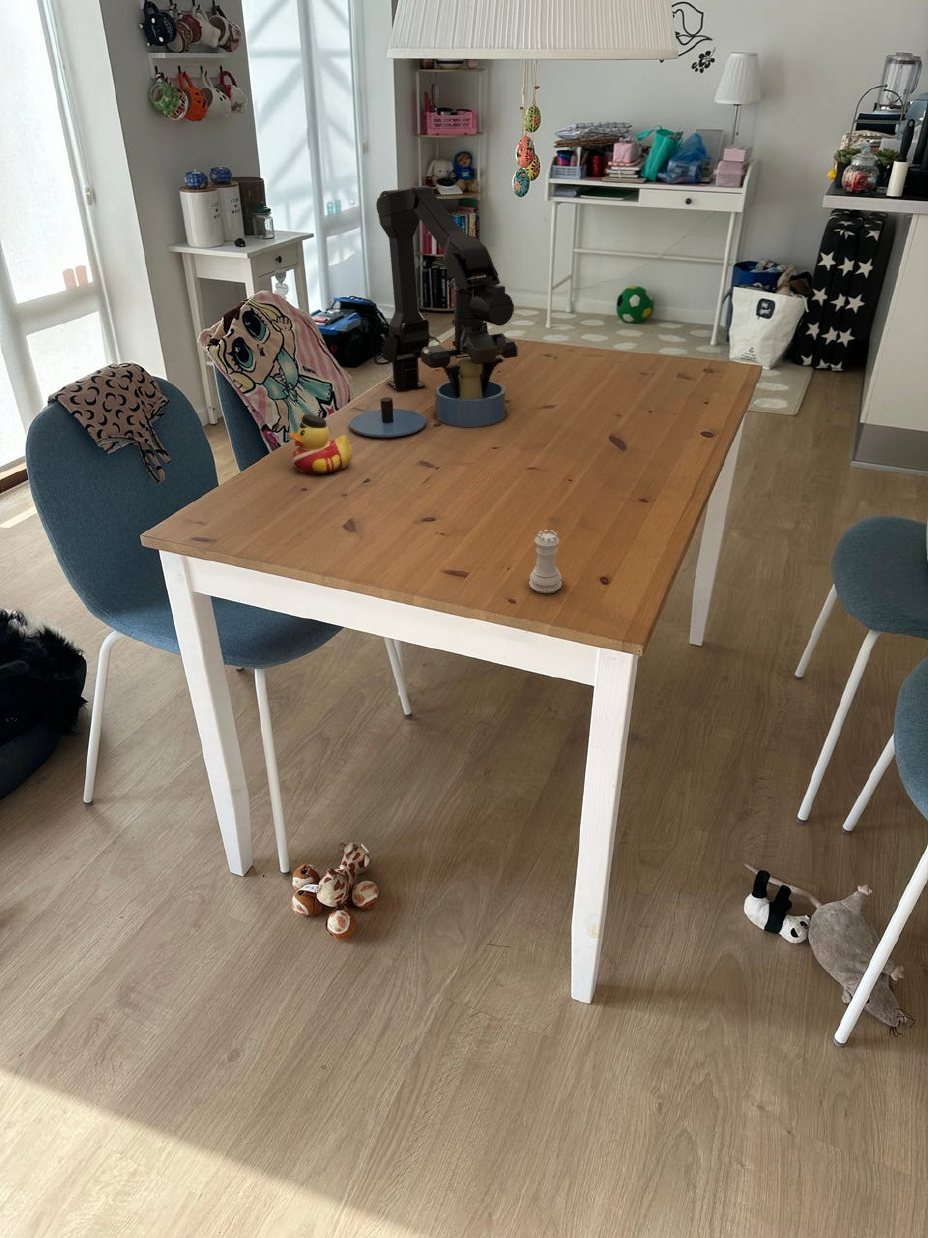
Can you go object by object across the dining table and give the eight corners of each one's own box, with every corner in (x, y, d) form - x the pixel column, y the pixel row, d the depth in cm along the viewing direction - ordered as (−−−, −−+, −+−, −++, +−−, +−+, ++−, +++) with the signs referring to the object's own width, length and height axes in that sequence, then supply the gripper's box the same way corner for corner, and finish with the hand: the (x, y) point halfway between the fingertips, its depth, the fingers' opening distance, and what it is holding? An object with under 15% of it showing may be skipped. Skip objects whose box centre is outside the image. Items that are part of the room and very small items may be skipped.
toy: (289, 462, 159) (282, 408, 154) (347, 454, 162) (342, 401, 157) (297, 481, 152) (290, 425, 147) (358, 473, 155) (353, 418, 149)
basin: (426, 409, 183) (425, 384, 180) (487, 400, 187) (487, 375, 185) (452, 431, 172) (451, 404, 169) (516, 420, 176) (516, 394, 174)
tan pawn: (473, 419, 176) (472, 364, 170) (449, 414, 179) (447, 359, 173) (490, 411, 180) (490, 357, 174) (467, 406, 183) (466, 352, 177)
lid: (340, 420, 178) (338, 393, 175) (410, 409, 183) (409, 383, 180) (363, 445, 166) (361, 416, 163) (437, 432, 171) (436, 404, 168)
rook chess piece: (529, 577, 122) (531, 526, 118) (561, 578, 122) (564, 527, 118) (528, 594, 119) (530, 541, 114) (561, 595, 118) (564, 542, 114)
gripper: (440, 330, 160) (442, 413, 168) (531, 319, 166) (529, 399, 174) (418, 317, 168) (421, 396, 177) (506, 306, 175) (505, 384, 183)
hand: (470, 394), depth 177 cm, fingers open, 5 cm apart
